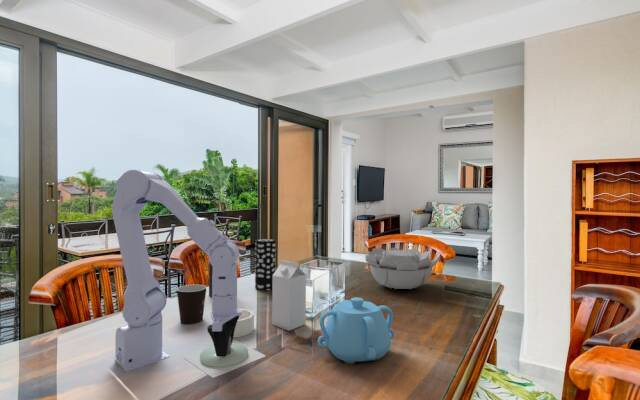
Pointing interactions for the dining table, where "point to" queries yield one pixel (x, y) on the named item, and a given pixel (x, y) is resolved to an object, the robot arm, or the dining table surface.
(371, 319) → the decorative pot
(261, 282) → the spotted tube
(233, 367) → the mat
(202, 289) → the coffee mug
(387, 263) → the decorative bowl
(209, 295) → the bottle
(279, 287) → the milk carton
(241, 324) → the bowl
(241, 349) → the lid
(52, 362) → the dining table surface
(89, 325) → the dining table surface
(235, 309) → the robot arm
